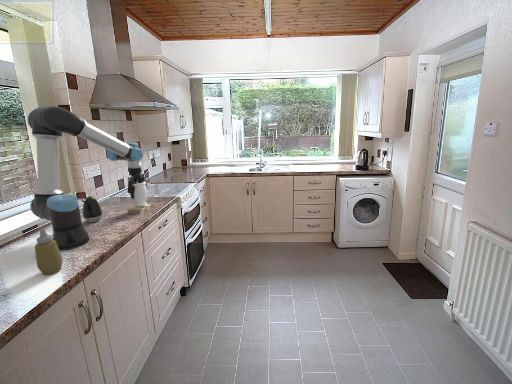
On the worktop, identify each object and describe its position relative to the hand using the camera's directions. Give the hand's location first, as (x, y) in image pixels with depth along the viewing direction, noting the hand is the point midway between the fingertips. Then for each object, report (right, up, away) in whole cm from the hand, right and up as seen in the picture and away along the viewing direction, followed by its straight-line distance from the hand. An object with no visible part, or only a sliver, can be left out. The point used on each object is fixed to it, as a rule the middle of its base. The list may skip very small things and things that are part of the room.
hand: (139, 200), depth 180 cm
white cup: (0, -3, +1) cm, 3 cm away
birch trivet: (0, -7, +2) cm, 7 cm away
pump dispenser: (-20, -12, -16) cm, 29 cm away
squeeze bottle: (-3, -26, -73) cm, 78 cm away
